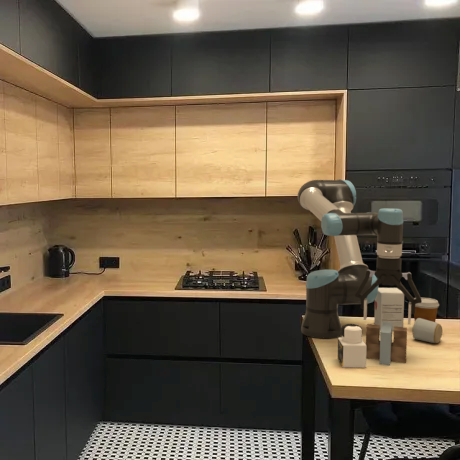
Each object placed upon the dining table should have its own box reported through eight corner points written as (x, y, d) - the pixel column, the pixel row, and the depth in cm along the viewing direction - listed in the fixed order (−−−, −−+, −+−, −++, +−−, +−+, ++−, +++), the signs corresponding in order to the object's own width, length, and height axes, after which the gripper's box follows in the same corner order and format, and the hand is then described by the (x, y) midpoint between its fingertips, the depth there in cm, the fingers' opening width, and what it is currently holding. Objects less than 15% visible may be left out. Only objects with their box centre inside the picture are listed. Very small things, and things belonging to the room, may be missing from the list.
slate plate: (379, 364, 138) (380, 332, 137) (382, 351, 149) (382, 321, 148) (389, 365, 137) (390, 333, 136) (391, 352, 148) (392, 322, 147)
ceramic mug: (435, 346, 154) (436, 324, 153) (411, 341, 159) (412, 319, 159) (445, 339, 161) (446, 318, 161) (422, 334, 167) (423, 314, 166)
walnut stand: (365, 357, 143) (366, 327, 142) (366, 353, 147) (367, 323, 146) (406, 363, 138) (406, 331, 138) (406, 358, 142) (407, 327, 141)
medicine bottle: (337, 359, 142) (338, 322, 141) (360, 359, 142) (360, 322, 141) (342, 367, 135) (343, 328, 134) (366, 368, 135) (367, 329, 134)
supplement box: (373, 324, 180) (374, 287, 179) (396, 324, 179) (397, 287, 178) (379, 331, 171) (380, 292, 170) (403, 331, 170) (404, 292, 169)
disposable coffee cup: (405, 328, 174) (406, 298, 173) (427, 326, 176) (428, 296, 175) (421, 336, 165) (422, 303, 164) (444, 334, 167) (445, 302, 166)
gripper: (347, 255, 145) (346, 319, 148) (432, 260, 136) (428, 328, 138) (350, 252, 152) (349, 313, 154) (431, 257, 143) (428, 322, 145)
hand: (386, 321), depth 146 cm, fingers open, 13 cm apart
